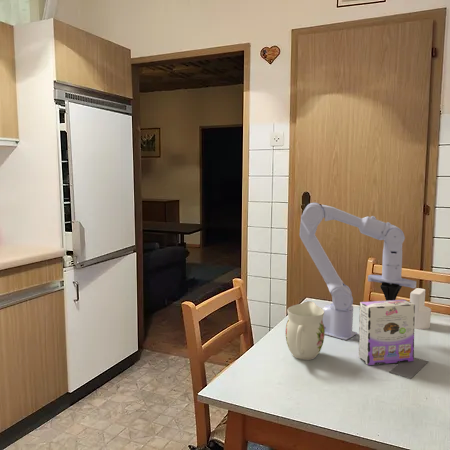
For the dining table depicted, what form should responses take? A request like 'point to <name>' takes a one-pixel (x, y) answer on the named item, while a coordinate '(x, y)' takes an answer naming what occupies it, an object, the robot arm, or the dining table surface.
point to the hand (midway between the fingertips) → (390, 306)
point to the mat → (409, 368)
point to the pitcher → (305, 330)
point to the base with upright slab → (420, 309)
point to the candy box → (386, 332)
